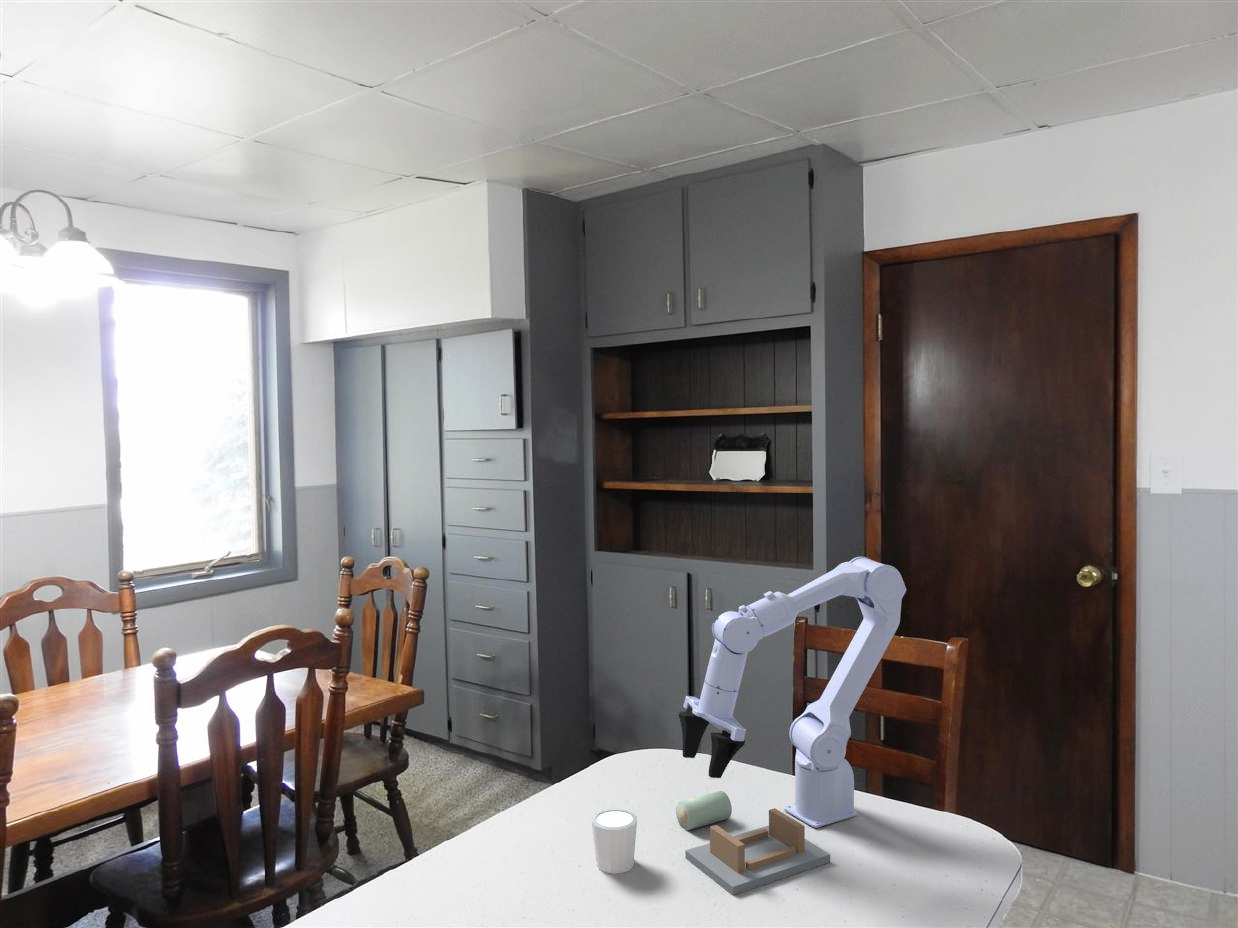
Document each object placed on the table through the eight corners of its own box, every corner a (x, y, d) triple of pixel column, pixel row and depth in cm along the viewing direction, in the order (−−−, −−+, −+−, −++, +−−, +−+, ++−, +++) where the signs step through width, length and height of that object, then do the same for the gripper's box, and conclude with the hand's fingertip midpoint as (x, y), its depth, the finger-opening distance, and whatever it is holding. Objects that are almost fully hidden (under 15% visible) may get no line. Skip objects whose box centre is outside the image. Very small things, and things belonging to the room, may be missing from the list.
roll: (717, 813, 150) (716, 786, 150) (733, 822, 146) (731, 794, 146) (675, 825, 146) (674, 797, 146) (691, 834, 142) (689, 806, 142)
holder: (778, 829, 143) (778, 798, 143) (830, 861, 133) (830, 828, 132) (685, 857, 135) (685, 824, 134) (732, 894, 124) (732, 858, 124)
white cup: (633, 877, 129) (632, 830, 129) (587, 873, 130) (586, 826, 130) (641, 854, 136) (641, 809, 135) (597, 850, 137) (597, 806, 137)
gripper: (677, 668, 148) (657, 747, 148) (728, 699, 136) (706, 785, 136) (710, 672, 152) (691, 749, 152) (763, 703, 139) (742, 786, 139)
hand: (701, 766), depth 144 cm, fingers open, 7 cm apart
